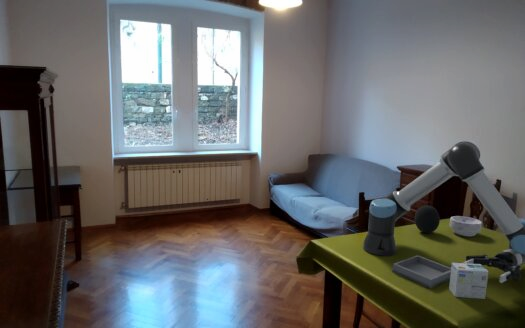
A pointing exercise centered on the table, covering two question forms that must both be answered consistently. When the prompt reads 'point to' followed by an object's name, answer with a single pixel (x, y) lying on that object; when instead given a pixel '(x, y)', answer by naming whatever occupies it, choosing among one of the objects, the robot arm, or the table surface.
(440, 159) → the robot arm
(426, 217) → the decorative egg
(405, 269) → the tray
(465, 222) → the paper bowls
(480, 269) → the light bulb box
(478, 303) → the table surface
